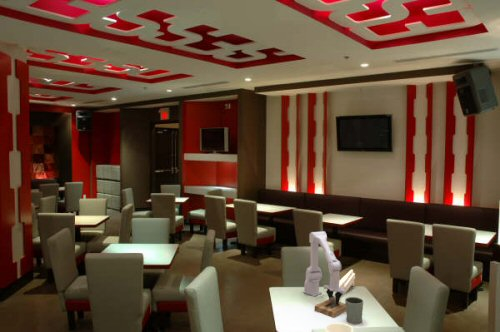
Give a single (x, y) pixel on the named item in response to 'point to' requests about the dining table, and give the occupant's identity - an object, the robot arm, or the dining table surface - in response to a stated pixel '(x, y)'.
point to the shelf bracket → (347, 281)
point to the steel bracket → (332, 302)
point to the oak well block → (330, 312)
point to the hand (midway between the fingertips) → (334, 302)
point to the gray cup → (354, 309)
